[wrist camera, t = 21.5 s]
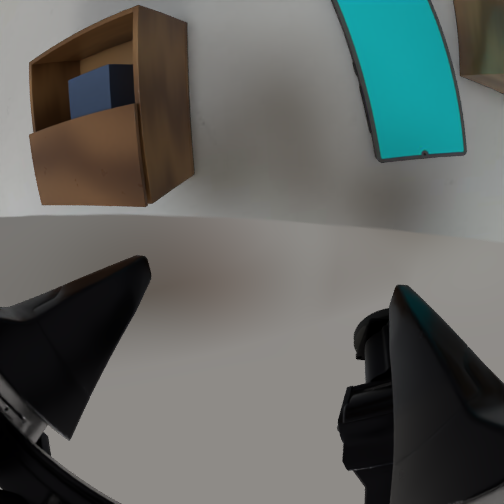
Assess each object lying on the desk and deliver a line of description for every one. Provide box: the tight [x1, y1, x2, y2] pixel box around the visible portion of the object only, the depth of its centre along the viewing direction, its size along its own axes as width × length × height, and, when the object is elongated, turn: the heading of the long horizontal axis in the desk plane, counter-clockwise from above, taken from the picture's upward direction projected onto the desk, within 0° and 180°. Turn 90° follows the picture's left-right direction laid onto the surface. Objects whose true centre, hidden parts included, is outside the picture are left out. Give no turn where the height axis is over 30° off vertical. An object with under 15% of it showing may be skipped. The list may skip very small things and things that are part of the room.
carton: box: [29, 5, 194, 204], centre depth 17 cm, size 13×12×6 cm
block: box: [68, 64, 135, 119], centre depth 17 cm, size 4×4×4 cm
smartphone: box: [331, 0, 467, 163], centre depth 13 cm, size 7×1×15 cm
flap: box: [29, 103, 148, 207], centre depth 16 cm, size 6×12×1 cm, turn 91°
